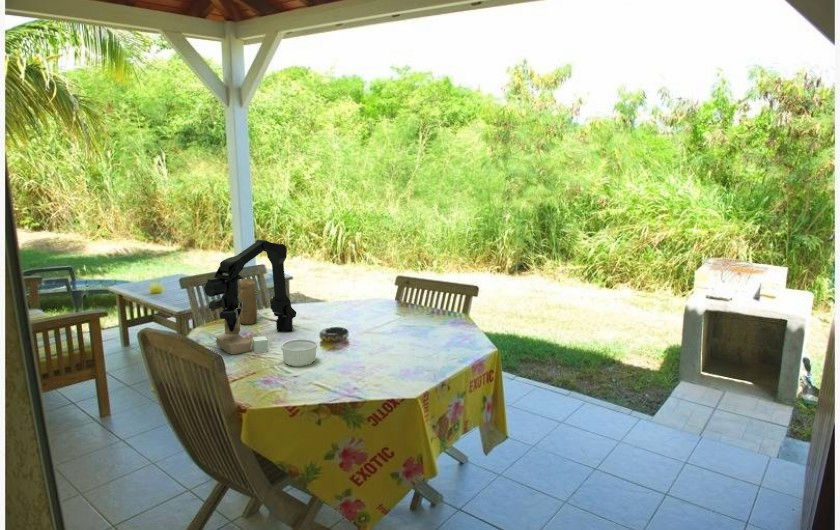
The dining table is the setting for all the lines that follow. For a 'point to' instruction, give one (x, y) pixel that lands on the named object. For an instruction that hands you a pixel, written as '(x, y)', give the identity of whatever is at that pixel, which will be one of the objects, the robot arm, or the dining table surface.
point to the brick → (233, 343)
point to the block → (248, 301)
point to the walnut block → (236, 328)
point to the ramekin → (299, 351)
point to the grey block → (260, 344)
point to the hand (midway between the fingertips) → (232, 329)
